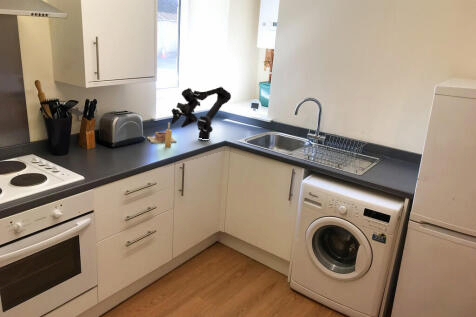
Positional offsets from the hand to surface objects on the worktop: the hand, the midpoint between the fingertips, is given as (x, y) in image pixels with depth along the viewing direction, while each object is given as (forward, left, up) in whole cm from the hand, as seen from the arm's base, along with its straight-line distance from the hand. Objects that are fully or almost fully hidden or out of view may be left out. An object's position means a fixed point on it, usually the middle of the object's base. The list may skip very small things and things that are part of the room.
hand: (176, 125), depth 247 cm
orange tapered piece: (+3, +6, -13) cm, 14 cm away
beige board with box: (+12, -5, -13) cm, 18 cm away
